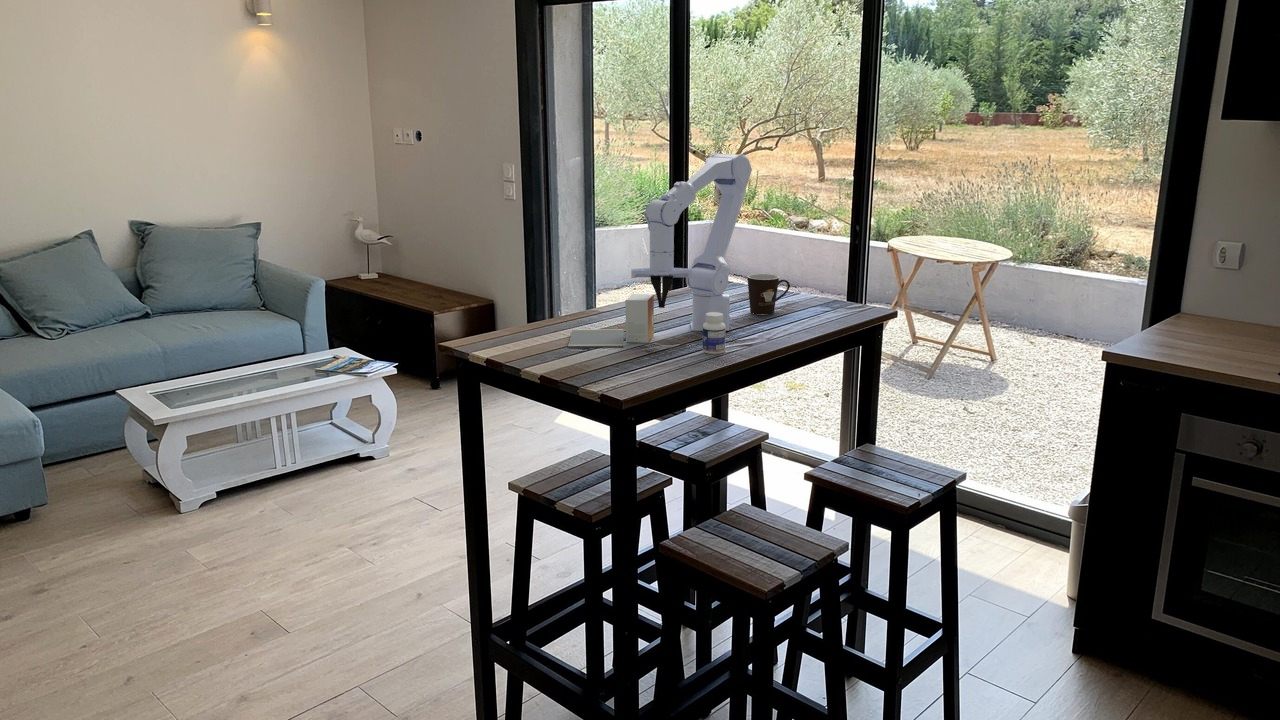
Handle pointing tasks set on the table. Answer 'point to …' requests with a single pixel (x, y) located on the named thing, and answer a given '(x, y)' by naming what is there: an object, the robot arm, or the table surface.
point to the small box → (639, 318)
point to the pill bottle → (714, 333)
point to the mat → (596, 338)
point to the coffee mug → (764, 292)
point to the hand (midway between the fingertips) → (661, 307)
